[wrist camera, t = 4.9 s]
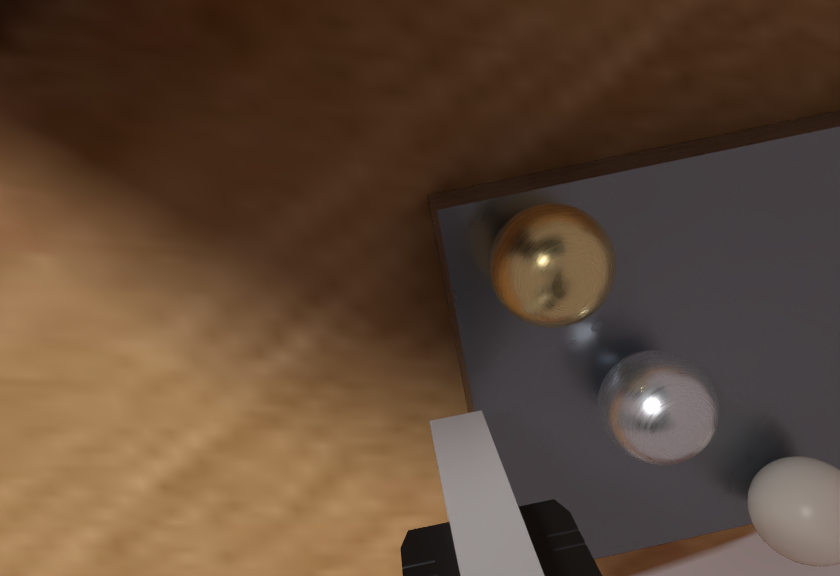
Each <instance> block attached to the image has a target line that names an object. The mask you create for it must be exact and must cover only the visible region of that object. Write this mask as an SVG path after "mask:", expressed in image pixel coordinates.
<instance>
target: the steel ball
mask: <svg viewBox="0 0 840 576" xmlns="http://www.w3.org/2000/svg"><path fill="white" fill-rule="evenodd" d="M598 412H599V417H600V420H601V423H602V426H603V428H604V430H605V432H606V434H607V435H608V437H609V438H610V439H611V441H612V442H613V443H614V444H615V445H616V446H617V447H618V448H619V449H620V450H621V451H623V452H624V453H625V454H627V455H628V456H630V457H632V458H634V459H636V460H638V461H641V462H644V463H648V464H653V465H673V464H678V463H681V462H684V461H687V460H689V459H691V458H693V457H695V456H696V455H698V454H699V453H700V452H701V451H703V450H704V449H705V448H706V446H707V445H708V444H709V443H710V441H711V440H712V438H713V436H714V434H715V432H716V429H717V426H718V421H719V402H718V398H717V394H716V392H715V389H714V387H713V385H712V383H711V382H710V380H709V379H708V377H707V376H706V374H705V373H704V372H703V371H702V370H701V369H700V368H699V367H698V366H697V365H695V364H694V363H693V362H691V361H690V360H688V359H686V358H684V357H682V356H680V355H677V354H675V353H672V352H667V351H661V350H648V351H641V352H637V353H634V354H631V355H629V356H627V357H625V358H623V359H622V360H620V361H619V362H618V363H617V364H615V365H614V366H613V367H612V368H611V369H610V371H609V372H608V373H607V375H606V376H605V378H604V380H603V382H602V384H601V387H600V391H599V395H598Z"/></svg>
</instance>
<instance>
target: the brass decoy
mask: <svg viewBox="0 0 840 576" xmlns="http://www.w3.org/2000/svg"><path fill="white" fill-rule="evenodd" d="M615 275H616V256H615V251H614V247H613V244H612V241H611V239H610V237H609V235H608V234H607V232H606V231H605V229H604V228H603V226H602V225H601V224H600V223H599V222H598V221H597V220H596V219H595V218H594V217H592V216H591V215H590V214H588V213H587V212H585V211H583V210H581V209H579V208H577V207H574V206H570V205H567V204H561V203H546V204H539V205H535V206H532V207H529V208H527V209H524V210H523V211H521V212H519V213H517V214H516V215H515V216H513V217H512V218H511V219H510V220H509V221H508V222H506V223H505V225H504V226H503V227H502V228H501V229H500V231H499V232H498V234H497V236H496V237H495V240H494V242H493V244H492V247H491V250H490V255H489V277H490V281H491V285H492V287H493V290H494V292H495V294H496V296H497V298H498V299H499V301H500V302H501V303H502V305H503V306H504V307H505V308H506V309H507V310H508V311H509V312H510V313H511V314H513V315H514V316H515V317H517V318H519V319H520V320H522V321H524V322H526V323H529V324H531V325H535V326H539V327H546V328H559V327H565V326H569V325H572V324H575V323H577V322H580V321H582V320H584V319H586V318H587V317H589V316H590V315H591V314H593V313H594V312H595V311H596V310H597V309H598V308H599V307H600V306H601V305H602V304H603V303H604V301H605V300H606V298H607V297H608V295H609V293H610V291H611V288H612V286H613V283H614V279H615Z"/></svg>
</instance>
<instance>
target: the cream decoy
mask: <svg viewBox="0 0 840 576" xmlns="http://www.w3.org/2000/svg"><path fill="white" fill-rule="evenodd" d="M747 504H748V511H749V515H750V518H751V521H752V523H753V525H754V527H755V529H756V531H757V532H758V534H759V535H760V536H761V537H762V539H763V540H764V541H765V542H766V543H767V544H768V545H769V546H770V547H771V548H772V549H774V550H775V551H777V552H778V553H779V554H781V555H782V556H784V557H786V558H788V559H790V560H793V561H795V562H798V563H801V564H806V565H812V566H829V565H835V564H838V563H840V470H839V469H837V468H836V467H834V466H832V465H830V464H828V463H826V462H824V461H821V460H818V459H814V458H809V457H802V456H793V457H785V458H781V459H777V460H775V461H773V462H771V463H769V464H767V465H766V466H764V467H763V468H762V469H761V470H760V471H759V472H758V473H757V474H756V475H755V477H754V478H753V480H752V482H751V484H750V487H749V491H748V499H747Z"/></svg>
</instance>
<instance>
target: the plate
mask: <svg viewBox="0 0 840 576" xmlns="http://www.w3.org/2000/svg"><path fill="white" fill-rule="evenodd" d="M428 200H429V205H430V210H431V216H432V221H433V226H434V232H435V237H436V242H437V248H438V253H439V258H440V264H441V269H442V274H443V280H444V285H445V290H446V296H447V301H448V306H449V312H450V317H451V322H452V328H453V333H454V338H455V344H456V349H457V354H458V360H459V365H460V370H461V376H462V381H463V386H464V392H465V397H466V402H467V407H468V413H471V412H476V411H481V410H482V413H483V415H484V418H485V420H486V423H487V426H488V428H489V431H490V434H491V436H492V439H493V442H494V444H495V447H496V449H497V452H498V455H499V457H500V460H501V463H502V465H503V468H504V470H505V473H506V476H507V478H508V481H509V484H510V486H511V489H512V492H513V494H514V497H515V499H516V502H517V505H518V506H523V505H528V504H533V503H538V502H543V501H547V500H552V499H555V500H556V501H557V502H558V503H560V504H561V505H562V506H563V507H565V508H566V509H567V510H568V511H570V513H571V515H572V517H573V519H574V521H575V523H576V525H577V527H578V530H579V531H580V533H581V535H582V537H583V539H584V541H585V544H586V545H587V547H588V549H589V551H590V553H591V555H592V557H593V559H598V558H602V557H607V556H611V555H615V554H620V553H624V552H629V551H633V550H638V549H642V548H647V547H651V546H655V545H660V544H664V543H669V542H673V541H678V540H682V539H687V538H691V537H695V536H700V535H704V534H709V533H713V532H718V531H722V530H727V529H731V528H735V527H740V526H744V525H749V524H753V523H752V521H751V518H750V515H749V511H748V504H747V499H748V491H749V487H750V484H751V482H752V480H753V478H754V477H755V475H756V474H757V473H758V472H759V471H760V470H761V469H762V468H763V467H764V466H766V465H767V464H769V463H771V462H773V461H775V460H777V459H781V458H785V457H793V456H802V457H809V458H814V459H818V460H821V461H824V462H826V463H828V464H830V465H832V466H834V467H836V468H837V469H839V470H840V110H839V111H834V112H829V113H824V114H820V115H815V116H810V117H805V118H800V119H795V120H791V121H786V122H781V123H776V124H771V125H767V126H762V127H757V128H752V129H747V130H742V131H738V132H733V133H728V134H723V135H718V136H713V137H709V138H704V139H699V140H694V141H689V142H684V143H680V144H675V145H670V146H665V147H660V148H655V149H651V150H646V151H641V152H636V153H631V154H626V155H622V156H617V157H612V158H607V159H602V160H598V161H593V162H588V163H583V164H578V165H573V166H569V167H564V168H559V169H554V170H549V171H544V172H540V173H535V174H530V175H525V176H520V177H515V178H511V179H506V180H501V181H496V182H491V183H486V184H482V185H477V186H472V187H467V188H462V189H457V190H453V191H448V192H443V193H438V194H433V195H429V196H428ZM546 203H561V204H567V205H570V206H574V207H577V208H579V209H581V210H583V211H585V212H587V213H588V214H590V215H591V216H592V217H594V218H595V219H596V220H597V221H598V222H599V223H600V224H601V225H602V226H603V228H604V229H605V231H606V232H607V234H608V235H609V237H610V239H611V241H612V244H613V247H614V251H615V256H616V275H615V279H614V283H613V286H612V288H611V291H610V293H609V295H608V297H607V298H606V300H605V301H604V303H603V304H602V305H601V306H600V307H599V308H598V309H597V310H596V311H595V312H594V313H593V314H591V315H590V316H589V317H587V318H586V319H584V320H582V321H580V322H577V323H575V324H572V325H569V326H565V327H559V328H546V327H539V326H535V325H531V324H529V323H526V322H524V321H522V320H520V319H519V318H517V317H515V316H514V315H513V314H511V313H510V312H509V311H508V310H507V309H506V308H505V307H504V306H503V305H502V303H501V302H500V301H499V299H498V298H497V296H496V294H495V292H494V290H493V287H492V285H491V281H490V277H489V255H490V250H491V247H492V244H493V242H494V240H495V237H496V236H497V234H498V232H499V231H500V229H501V228H502V227H503V226H504V225H505V223H506V222H508V221H509V220H510V219H511V218H512V217H513V216H515V215H516V214H517V213H519V212H521V211H523V210H524V209H527V208H529V207H532V206H535V205H539V204H546ZM648 350H661V351H667V352H672V353H675V354H677V355H680V356H682V357H684V358H686V359H688V360H690V361H691V362H693V363H694V364H695V365H697V366H698V367H699V368H700V369H701V370H702V371H703V372H704V373H705V374H706V376H707V377H708V379H709V380H710V382H711V383H712V385H713V387H714V389H715V392H716V394H717V398H718V402H719V421H718V426H717V429H716V432H715V434H714V436H713V438H712V440H711V441H710V443H709V444H708V445H707V446H706V448H705V449H704V450H703V451H701V452H700V453H699V454H698V455H696V456H695V457H693V458H691V459H689V460H687V461H684V462H681V463H678V464H673V465H653V464H648V463H644V462H641V461H638V460H636V459H634V458H632V457H630V456H628V455H627V454H625V453H624V452H623V451H621V450H620V449H619V448H618V447H617V446H616V445H615V444H614V443H613V442H612V441H611V439H610V438H609V437H608V435H607V434H606V432H605V430H604V428H603V426H602V423H601V420H600V417H599V412H598V395H599V391H600V387H601V384H602V382H603V380H604V378H605V376H606V375H607V373H608V372H609V371H610V369H611V368H612V367H613V366H614V365H615V364H617V363H618V362H619V361H620V360H622V359H623V358H625V357H627V356H629V355H631V354H634V353H637V352H641V351H648Z"/></svg>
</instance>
